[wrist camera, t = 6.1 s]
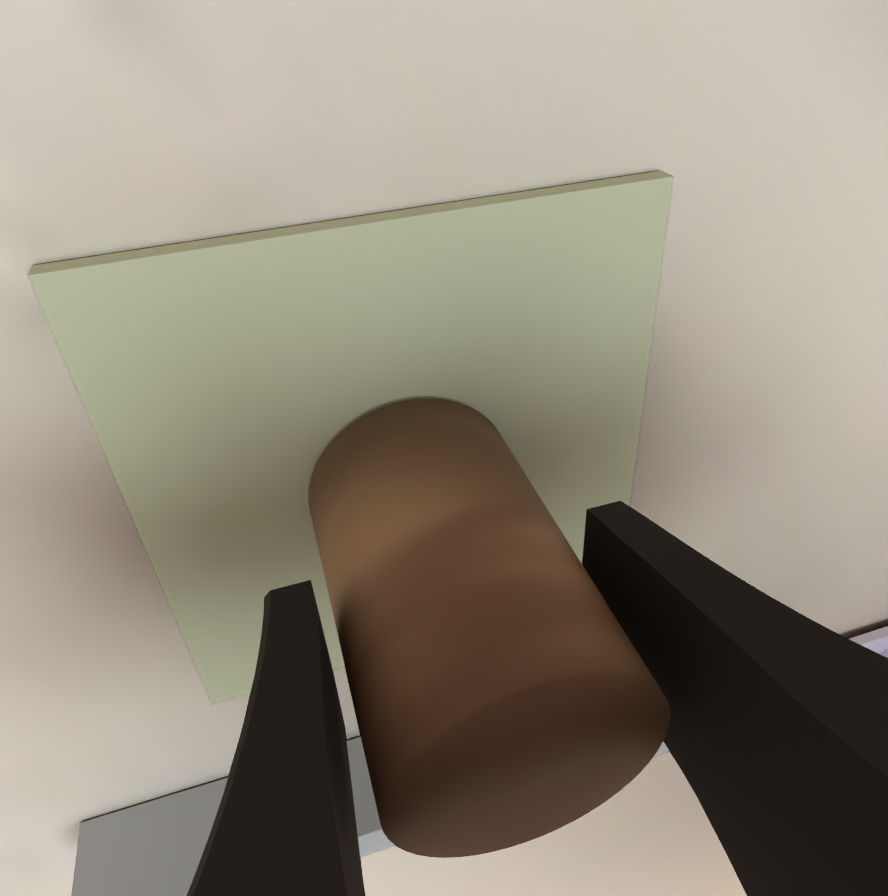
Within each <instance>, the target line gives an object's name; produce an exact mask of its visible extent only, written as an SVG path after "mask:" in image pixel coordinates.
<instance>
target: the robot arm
mask: <svg viewBox="0 0 888 896" xmlns="http://www.w3.org/2000/svg"><path fill="white" fill-rule="evenodd" d="M582 565H583V567H584V568H585V570H586V571H587V573H588V574H589V576H590V578H591V579H592V581H593V582H594V584H595V586H596V587H597V589H598V590H599V592H600V594H601V595H602V597H603V598H604V600H605V601H606V603H607V605H608V606H609V608H610V609H611V611H612V613H613V614H614V616H615V617H616V619H617V621H618V622H619V624H620V625H621V627H622V629H623V630H624V632H625V633H626V635H627V636H628V638H629V640H630V641H631V643H632V644H633V646H634V648H635V649H636V651H637V652H638V654H639V656H640V657H641V659H642V660H643V662H644V664H645V665H646V667H647V668H648V670H649V671H650V673H651V675H652V676H653V678H654V679H655V681H656V683H657V684H658V686H659V687H660V689H661V691H662V692H663V694H664V695H665V697H666V699H667V700H668V703H669V707H670V723H669V728H668V731H667V733H666V736H665V738H664V741H663V742H664V743H665V745H666V746H667V748H668V749H669V751H670V753H671V754H672V756H673V757H674V759H675V760H676V762H677V764H678V765H679V767H680V768H681V770H682V772H683V773H684V775H685V777H686V778H687V780H688V782H689V784H690V785H691V787H692V789H693V790H694V792H695V794H696V796H697V797H698V799H699V801H700V803H701V805H702V807H703V809H704V811H705V813H706V815H707V817H708V819H709V821H710V823H711V825H712V827H713V828H714V830H715V832H716V834H717V836H718V838H719V840H720V842H721V844H722V846H723V848H724V850H725V852H726V854H727V856H728V858H729V860H730V862H731V864H732V866H733V868H734V870H735V872H736V874H737V876H738V878H739V880H740V882H741V884H742V886H743V888H744V890H745V892H746V894H747V896H888V626H886V627H883V628H880V629H877V630H874V631H871V632H868V633H865V634H862V635H858V636H855V637H852V638H849V639H848V638H846V637H843V636H841V635H839V634H837V633H835V632H833V631H831V630H830V629H828V628H826V627H824V626H822V625H820V624H818V623H816V622H814V621H812V620H811V619H809V618H807V617H805V616H803V615H802V614H800V613H798V612H796V611H795V610H793V609H791V608H789V607H787V606H786V605H784V604H782V603H780V602H779V601H777V600H775V599H773V598H772V597H770V596H768V595H766V594H765V593H763V592H761V591H760V590H758V589H756V588H755V587H753V586H751V585H750V584H748V583H746V582H745V581H743V580H741V579H740V578H738V577H737V576H735V575H733V574H732V573H730V572H729V571H727V570H725V569H724V568H722V567H721V566H719V565H717V564H716V563H714V562H713V561H711V560H710V559H708V558H707V557H705V556H703V555H702V554H700V553H699V552H697V551H696V550H694V549H693V548H691V547H690V546H688V545H687V544H685V543H684V542H682V541H681V540H679V539H678V538H676V537H675V536H673V535H672V534H670V533H669V532H667V531H666V530H664V529H663V528H661V527H660V526H658V525H657V524H655V523H654V522H652V521H651V520H649V519H648V518H646V517H645V516H643V515H642V514H640V513H639V512H637V511H636V510H634V509H633V508H631V507H630V506H628V505H627V504H625V503H624V502H622V501H617V502H613V503H609V504H605V505H601V506H597V507H593V508H589V509H587V510H586V522H585V534H584V546H583V557H582ZM186 896H365V890H364V884H363V877H362V868H361V860H360V851H359V842H358V834H357V825H356V816H355V808H354V799H353V790H352V782H351V773H350V765H349V756H348V748H347V739H346V731H345V725H344V720H343V716H342V711H341V706H340V702H339V697H338V692H337V688H336V683H335V678H334V674H333V669H332V664H331V660H330V656H329V652H328V648H327V644H326V640H325V636H324V632H323V628H322V623H321V619H320V615H319V611H318V607H317V603H316V599H315V595H314V591H313V587H312V583H311V580H308V581H304V582H301V583H297V584H293V585H289V586H285V587H281V588H277V589H273V590H270V591H269V592H268V593H267V595H266V596H265V597H264V613H263V624H262V633H261V640H260V647H259V653H258V658H257V664H256V670H255V675H254V680H253V684H252V688H251V693H250V697H249V701H248V706H247V710H246V715H245V719H244V723H243V727H242V731H241V735H240V738H239V742H238V745H237V749H236V752H235V755H234V759H233V762H232V766H231V769H230V773H229V776H228V779H227V783H226V786H225V790H224V793H223V796H222V799H221V802H220V805H219V808H218V811H217V814H216V817H215V820H214V823H213V826H212V829H211V832H210V835H209V838H208V840H207V843H206V846H205V848H204V851H203V854H202V857H201V859H200V862H199V865H198V867H197V870H196V873H195V875H194V878H193V881H192V883H191V886H190V888H189V891H188V893H187V895H186Z"/></svg>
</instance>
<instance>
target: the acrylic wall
mask: <svg viewBox="0 0 888 896" xmlns="http://www.w3.org/2000/svg"><path fill="white" fill-rule="evenodd" d="M347 748H348V756H349V765H350V773H351V782H352V790H353V799H354V808H355V816H356V825H357V834H358V842H359V851H360V857H363V856H366V855H369V854H372V853H375V852H378V851H381V850H384V849H387V848H390V847H393V846H395V845H394V844H393V843H392V842H391V841H389V840H388V838H387V837H386V835H385V834H384V833H383V830H382V827H381V824H380V820H379V816H378V812H377V807H376V803H375V798H374V794H373V789H372V785H371V780H370V776H369V772H368V767H367V763H366V758H365V754H364V749H363V745H362V740H361V737H358V738H355V739H351V740H348V741H347ZM667 752H669V749H668V748H667V746H666V745H665V743H664V742H662V744H661V746H660V748H659V749H658V751H657V752H656V754H655V755H654V756H653V757H655V756H658V755H661V754H664V753H667ZM227 779H228V778H224V779H221V780H218V781H215V782H211V783H208V784H205V785H201V786H198V787H195V788H192V789H188V790H185V791H182V792H179V793H175V794H172V795H169V796H166V797H162V798H159V799H156V800H153V801H149V802H146V803H143V804H140V805H136V806H133V807H130V808H127V809H123V810H120V811H117V812H113V813H110V814H107V815H104V816H100V817H97V818H94V819H91V820H87V821H84V822H81V823H80V830H79V838H78V846H77V855H76V863H75V871H74V879H73V887H72V896H186V895H187V893H188V891H189V888H190V886H191V883H192V881H193V878H194V875H195V873H196V870H197V867H198V865H199V862H200V859H201V857H202V854H203V851H204V848H205V846H206V843H207V840H208V838H209V835H210V832H211V829H212V826H213V823H214V820H215V817H216V814H217V811H218V808H219V805H220V802H221V799H222V796H223V793H224V790H225V786H226V783H227Z"/></svg>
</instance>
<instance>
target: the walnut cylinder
mask: <svg viewBox="0 0 888 896" xmlns="http://www.w3.org/2000/svg"><path fill="white" fill-rule="evenodd" d="M308 501H309V509H310V514H311V518H312V523H313V527H314V531H315V536H316V540H317V545H318V549H319V554H320V558H321V563H322V567H323V571H324V576H325V580H326V585H327V589H328V594H329V598H330V603H331V607H332V611H333V616H334V620H335V625H336V629H337V634H338V638H339V643H340V647H341V651H342V656H343V660H344V665H345V669H346V674H347V678H348V683H349V687H350V692H351V696H352V700H353V705H354V709H355V714H356V718H357V723H358V727H359V732H360V736H361V740H362V745H363V749H364V754H365V758H366V763H367V767H368V772H369V776H370V780H371V785H372V789H373V794H374V798H375V803H376V807H377V812H378V816H379V820H380V824H381V827H382V830H383V833H384V834H385V835H386V837H387V838H388V840H389V841H391V842H392V843H393V844H394V845H396V846H397V847H399V848H401V849H403V850H405V851H407V852H410V853H414V854H417V855H422V856H429V857H444V858H445V857H463V856H471V855H478V854H483V853H488V852H493V851H497V850H501V849H505V848H509V847H512V846H515V845H518V844H521V843H524V842H527V841H530V840H532V839H535V838H538V837H540V836H543V835H545V834H547V833H550V832H552V831H554V830H556V829H558V828H560V827H562V826H564V825H566V824H568V823H570V822H572V821H574V820H576V819H578V818H580V817H581V816H583V815H585V814H587V813H588V812H590V811H591V810H593V809H595V808H596V807H598V806H599V805H601V804H602V803H604V802H605V801H607V800H608V799H609V798H611V797H612V796H613V795H615V794H616V793H617V792H619V791H620V790H621V789H622V788H623V787H625V786H626V785H627V784H628V783H629V782H630V781H632V780H633V779H634V778H635V777H636V776H637V775H638V774H639V773H640V772H641V771H642V770H643V769H644V767H645V766H646V765H647V764H648V763H649V762H650V760H651V759H652V758H653V756H654V755H655V754H656V752H657V751H658V749H659V748H660V746H661V744H662V742H663V741H664V738H665V736H666V733H667V731H668V728H669V723H670V707H669V703H668V700H667V699H666V697H665V695H664V694H663V692H662V691H661V689H660V687H659V686H658V684H657V683H656V681H655V679H654V678H653V676H652V675H651V673H650V671H649V670H648V668H647V667H646V665H645V664H644V662H643V660H642V659H641V657H640V656H639V654H638V652H637V651H636V649H635V648H634V646H633V644H632V643H631V641H630V640H629V638H628V636H627V635H626V633H625V632H624V630H623V629H622V627H621V625H620V624H619V622H618V621H617V619H616V617H615V616H614V614H613V613H612V611H611V609H610V608H609V606H608V605H607V603H606V601H605V600H604V598H603V597H602V595H601V594H600V592H599V590H598V589H597V587H596V586H595V584H594V582H593V581H592V579H591V578H590V576H589V574H588V573H587V571H586V570H585V568H584V567H583V565H582V563H581V562H580V560H579V559H578V557H577V555H576V554H575V552H574V551H573V549H572V547H571V546H570V544H569V543H568V541H567V539H566V538H565V536H564V535H563V533H562V532H561V530H560V528H559V527H558V525H557V524H556V522H555V520H554V519H553V517H552V516H551V514H550V512H549V511H548V509H547V508H546V506H545V504H544V503H543V501H542V500H541V498H540V497H539V495H538V493H537V492H536V490H535V489H534V487H533V485H532V484H531V482H530V481H529V479H528V477H527V476H526V474H525V473H524V471H523V469H522V468H521V466H520V465H519V463H518V462H517V460H516V458H515V457H514V455H513V454H512V452H511V450H510V449H509V447H508V446H507V444H506V442H505V441H504V439H503V438H502V436H501V434H500V433H499V431H498V430H497V428H496V427H495V426H494V425H493V423H492V422H491V421H490V420H489V419H488V418H486V417H485V416H484V415H483V414H481V413H480V412H478V411H477V410H475V409H473V408H471V407H469V406H466V405H464V404H461V403H458V402H454V401H450V400H444V399H434V398H431V399H414V400H406V401H402V402H398V403H394V404H390V405H387V406H385V407H382V408H379V409H377V410H375V411H373V412H371V413H369V414H367V415H365V416H363V417H361V418H360V419H358V420H357V421H355V422H353V423H352V424H351V425H349V426H348V427H347V428H346V429H344V430H343V431H342V432H341V433H340V434H339V435H338V436H337V437H336V438H335V439H334V440H333V441H332V442H331V443H330V444H329V445H328V447H327V448H326V449H325V451H324V452H323V453H322V455H321V457H320V458H319V460H318V462H317V464H316V466H315V468H314V471H313V473H312V476H311V480H310V484H309V493H308Z"/></svg>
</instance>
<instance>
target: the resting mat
mask: <svg viewBox="0 0 888 896" xmlns="http://www.w3.org/2000/svg"><path fill="white" fill-rule="evenodd" d="M673 177H674V176H672V175H669V174H667V173H665V172H663V171H655V172H649V173H642V174H635V175H629V176H622V177H615V178H609V179H602V180H596V181H589V182H582V183H576V184H569V185H562V186H556V187H549V188H543V189H536V190H529V191H523V192H516V193H509V194H503V195H496V196H490V197H483V198H476V199H470V200H463V201H456V202H450V203H443V204H437V205H430V206H423V207H417V208H410V209H403V210H397V211H390V212H384V213H377V214H370V215H364V216H357V217H350V218H344V219H337V220H331V221H324V222H317V223H311V224H304V225H298V226H291V227H284V228H278V229H271V230H264V231H258V232H251V233H245V234H238V235H231V236H225V237H218V238H211V239H205V240H198V241H192V242H185V243H178V244H172V245H165V246H158V247H152V248H145V249H139V250H132V251H125V252H119V253H112V254H105V255H99V256H92V257H86V258H79V259H72V260H66V261H59V262H52V263H46V264H39V265H33V266H32V267H31V269H30V271H29V273H28V275H27V276H28V278H29V280H30V283H31V285H32V287H33V290H34V292H35V294H36V297H37V299H38V301H39V304H40V306H41V308H42V311H43V313H44V315H45V318H46V320H47V322H48V325H49V327H50V329H51V332H52V334H53V336H54V339H55V341H56V343H57V346H58V348H59V350H60V353H61V355H62V357H63V360H64V362H65V364H66V366H67V369H68V371H69V373H70V376H71V378H72V380H73V383H74V385H75V387H76V390H77V392H78V394H79V397H80V399H81V401H82V404H83V406H84V408H85V411H86V413H87V415H88V418H89V420H90V422H91V425H92V427H93V429H94V432H95V434H96V436H97V439H98V441H99V443H100V446H101V448H102V450H103V452H104V455H105V457H106V459H107V462H108V464H109V466H110V469H111V471H112V473H113V476H114V478H115V480H116V483H117V485H118V487H119V490H120V492H121V494H122V497H123V499H124V501H125V504H126V506H127V508H128V511H129V513H130V515H131V518H132V520H133V522H134V525H135V527H136V529H137V531H138V534H139V536H140V538H141V541H142V543H143V545H144V548H145V550H146V552H147V555H148V557H149V559H150V562H151V564H152V566H153V569H154V571H155V573H156V576H157V578H158V580H159V583H160V585H161V587H162V590H163V592H164V594H165V597H166V599H167V601H168V604H169V606H170V608H171V611H172V613H173V615H174V617H175V620H176V622H177V624H178V627H179V629H180V631H181V634H182V636H183V638H184V641H185V643H186V645H187V648H188V650H189V652H190V655H191V657H192V659H193V662H194V664H195V666H196V669H197V671H198V673H199V676H200V678H201V680H202V683H203V685H204V687H205V690H206V692H207V694H208V697H209V699H210V701H211V703H212V704H215V703H219V702H222V701H226V700H229V699H233V698H236V697H240V696H243V695H247V694H250V693H251V688H252V684H253V680H254V675H255V670H256V664H257V658H258V653H259V647H260V640H261V633H262V624H263V613H264V597H265V596H266V595H267V593H268V592H269V591H270V590H273V589H277V588H281V587H285V586H289V585H293V584H297V583H301V582H304V581H308V580H311V583H312V587H313V591H314V595H315V599H316V603H317V607H318V611H319V615H320V619H321V623H322V628H323V632H324V636H325V640H326V644H327V648H328V652H329V656H330V660H331V664H332V669H333V670H335V669H338V668H342V667H345V665H344V660H343V656H342V651H341V647H340V643H339V638H338V634H337V629H336V625H335V620H334V616H333V611H332V607H331V603H330V598H329V594H328V589H327V585H326V580H325V576H324V571H323V567H322V563H321V558H320V554H319V549H318V545H317V540H316V536H315V531H314V527H313V523H312V518H311V514H310V509H309V501H308V493H309V484H310V480H311V476H312V473H313V471H314V468H315V466H316V464H317V462H318V460H319V458H320V457H321V455H322V453H323V452H324V451H325V449H326V448H327V447H328V445H329V444H330V443H331V442H332V441H333V440H334V439H335V438H336V437H337V436H338V435H339V434H340V433H341V432H342V431H343V430H344V429H346V428H347V427H348V426H349V425H351V424H352V423H353V422H355V421H357V420H358V419H360V418H361V417H363V416H365V415H367V414H369V413H371V412H373V411H375V410H377V409H379V408H382V407H385V406H387V405H390V404H394V403H398V402H402V401H406V400H414V399H431V398H434V399H444V400H450V401H454V402H458V403H461V404H464V405H466V406H469V407H471V408H473V409H475V410H477V411H478V412H480V413H481V414H483V415H484V416H485V417H486V418H488V419H489V420H490V421H491V422H492V423H493V425H494V426H495V427H496V428H497V430H498V431H499V433H500V434H501V436H502V438H503V439H504V441H505V442H506V444H507V446H508V447H509V449H510V450H511V452H512V454H513V455H514V457H515V458H516V460H517V462H518V463H519V465H520V466H521V468H522V469H523V471H524V473H525V474H526V476H527V477H528V479H529V481H530V482H531V484H532V485H533V487H534V489H535V490H536V492H537V493H538V495H539V497H540V498H541V500H542V501H543V503H544V504H545V506H546V508H547V509H548V511H549V512H550V514H551V516H552V517H553V519H554V520H555V522H556V524H557V525H558V527H559V528H560V530H561V532H562V533H563V535H564V536H565V538H566V539H567V541H568V543H569V544H570V546H571V547H572V549H573V551H574V552H575V554H576V555H577V557H578V559H579V560H580V562H581V563H582V557H583V546H584V534H585V522H586V510H587V509H589V508H593V507H597V506H601V505H605V504H609V503H613V502H617V501H622V502H624V503H625V504H627V505H628V506H630V500H631V493H632V485H633V478H634V470H635V463H636V455H637V448H638V440H639V433H640V425H641V418H642V410H643V403H644V395H645V388H646V380H647V372H648V365H649V357H650V350H651V342H652V335H653V327H654V320H655V312H656V305H657V297H658V290H659V282H660V275H661V267H662V260H663V252H664V244H665V237H666V229H667V222H668V214H669V207H670V199H671V192H672V184H673Z"/></svg>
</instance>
